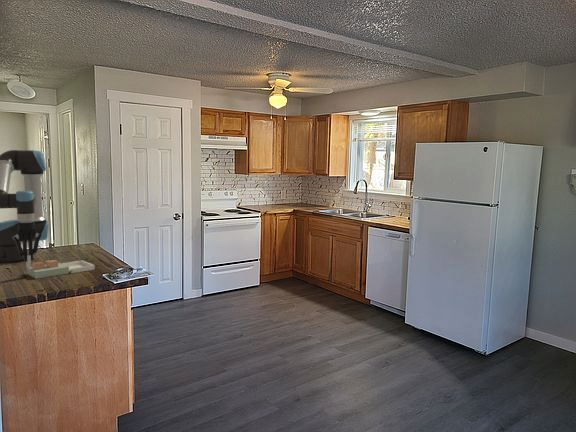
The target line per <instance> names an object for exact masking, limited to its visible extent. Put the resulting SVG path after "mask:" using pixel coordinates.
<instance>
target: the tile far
mask: <svg viewBox="0 0 576 432" xmlns="http://www.w3.org/2000/svg"><path fill="white" fill-rule="evenodd" d="M58 263H59V261H58V260H56V259H51V260H50V259H49V260H45V265H46V267H48V268H52V267H58Z"/></svg>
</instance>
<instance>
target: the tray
mask: <svg viewBox="0 0 576 432" xmlns="http://www.w3.org/2000/svg"><path fill="white" fill-rule="evenodd" d="M60 263H61V262H60ZM61 264H64V265H66V266H68V267H69V273H68V274H70V275H71V274H76V273H77V274H78V273H83V272H84V273H85V272H91V271H95V270H96V265H95V264H93V263H91V262H88V261H86V260H83V259H82V260H76V261H69V262H63V263H61Z"/></svg>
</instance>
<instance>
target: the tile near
mask: <svg viewBox="0 0 576 432" xmlns="http://www.w3.org/2000/svg"><path fill="white" fill-rule="evenodd" d="M45 265H46V262H45V261H44V262H43V261H37V262H36V261H35V262H31V267H32V269H34V270H39V269H45Z"/></svg>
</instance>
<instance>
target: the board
mask: <svg viewBox="0 0 576 432" xmlns="http://www.w3.org/2000/svg"><path fill="white" fill-rule="evenodd" d="M26 274H27V275H28V276H30V277H32V278H34V279H35V280H38V279H44V278H49V277H56V276H62V275H67V274H70V273H69V267H68V266H66V265H64V264H61V262H58V267H52V268H48V267H46V264H45V269H39V270H34V269H32V266H31V268H27V267H26Z"/></svg>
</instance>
